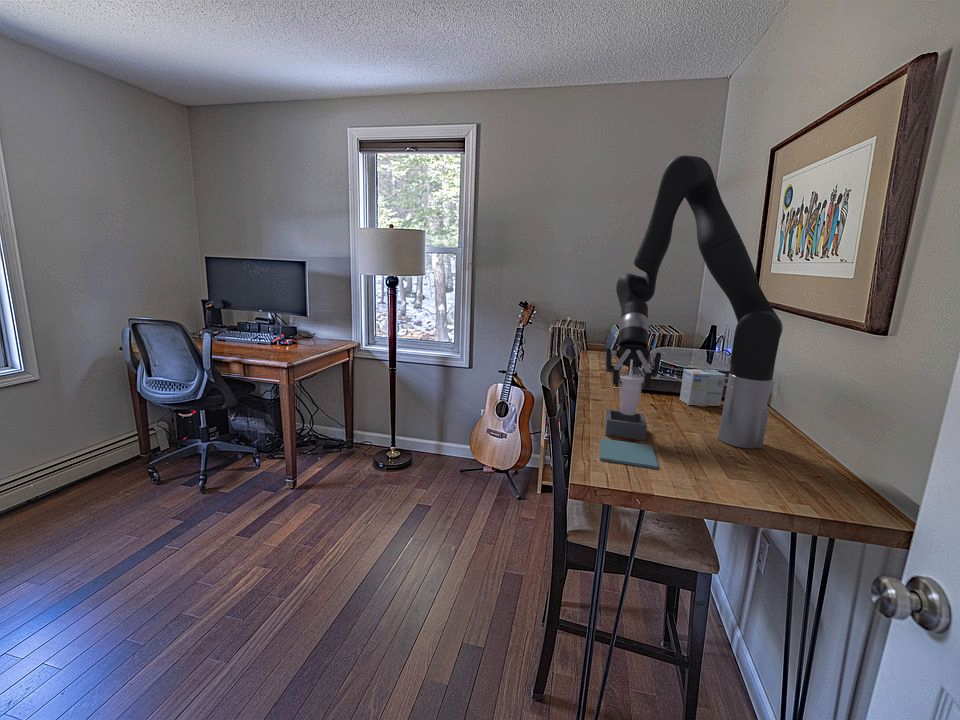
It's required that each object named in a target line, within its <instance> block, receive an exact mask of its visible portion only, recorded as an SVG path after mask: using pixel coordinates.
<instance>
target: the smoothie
mask: <svg viewBox="0 0 960 720" xmlns="http://www.w3.org/2000/svg"><path fill="white" fill-rule="evenodd" d="M632 365H633V360H631V362H630V367H629V373H619V411H620V412H621V413H622V414H625V415H635V413H637V409H638V405H639V402H640V401H639V400H640V398H641V397H640V396H641V393H642V390H643V386H644V382H645V378H644V376H643V375H640V374H635V373H632V372H633V367H632Z"/></svg>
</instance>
